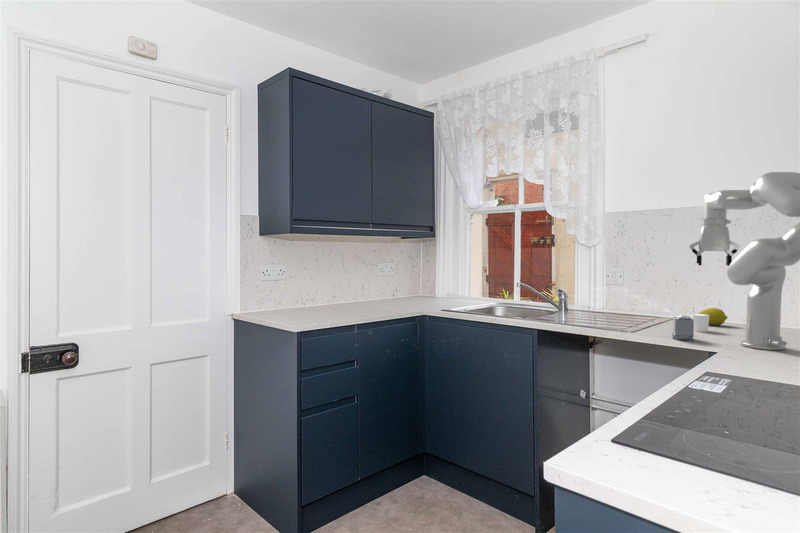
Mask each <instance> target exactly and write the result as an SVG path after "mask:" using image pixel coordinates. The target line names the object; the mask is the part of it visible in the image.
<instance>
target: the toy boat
mask: <svg viewBox="0 0 800 533" xmlns="http://www.w3.org/2000/svg"><path fill="white" fill-rule="evenodd" d="M672 328H673V330H674V326H673V327H672ZM671 338H672V339H673V340H675V341H676V340H677V341H681V342H683V341H685V342H690V341H689V340H693V341H694V338H695V336H694V334H693V336H687V335H675V334H674V332H672V336H671Z"/></svg>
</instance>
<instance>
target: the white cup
mask: <svg viewBox="0 0 800 533" xmlns="http://www.w3.org/2000/svg"><path fill="white" fill-rule="evenodd" d="M690 317H691V318H692V319H693V320H694V332H696V331H699V332H698V333H707V332H708V331H709V330H708V329H709V324H708V323H709V315H706V314H699V313H690Z"/></svg>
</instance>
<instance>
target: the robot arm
mask: <svg viewBox="0 0 800 533" xmlns="http://www.w3.org/2000/svg"><path fill="white" fill-rule="evenodd" d="M703 204H704V205H703V226H701V227H700V231H699V238H698V239H699V240H698V241H696V242H693V243H691V244H689V249H690V251H691V252H692V253H693V254H694V255H695V256H696V264H698V266H702V261H703V260H702V258H703V257H702V254H703V253H704V252H725V254H726V256H725V257H726V258H725V260H726V261H725V265H726V266H727V273H726V274H727V279H728V280H729V281H730V282H731V283H732V284H734V285H737V286H751V288H750V289H749V292H748V293H747V298H746V300H747V301H746V328H745V330H746V331H745V332H746V333H745V339H742V340H741V341H740V345H742V346H744V347H747V348H750V349H751V348H752V349H758V350H766V351H767V350H771V351H783V350H785V349H786V346H787V344H788V343H787V341H785V340H783V339H782V338H783V337H782V336H781V321H782V320H781V319H782V318H781V317H782V315H781V314H782V313H781V312H782V293H783V288H784V287H783V286H784V283H785V279H786V275H787V274H786V273H787V270H786V267H789V266H790V267H791V266H793V265H795V264H797V263H798V262H799V261H800V222H798V223H797V224H795V225H794V226H792V227H791V228H790V229H789V230H788V231H787V232H785V233H784V234H783V235H781V236H780V237H775V238H774V237H773V238H772V237H771V238H759V239H755V240H753V241H752V242H750V243H749V244H748V245H747V246H746V247H744V249H743V250H741V251H740V253H738V254H737V256H736V257H734V258H733V255H735V254H736V253H737V252H738V250H740V248H741V244H738V243H737V242H734V241H732V240H731V239H730V231H729V226H727V225H729V224H731V223H732V222H731V220H730V219H729V220H728V218H727V211H728V210H729V211H730V210H742V211H743V210H752V209H756V208H761V207H765V206H767V204H769V206H771V207H772V208H773V209H775V210H776V211H777V212H779V213H780V214H781V215H783V216H786V217H789V218H800V172H797V171H771V172H767V173H764V174H762V175H761V176H760V177H759V178H758V179H757V180H756V181H755V182H754V183H752V185H751V187H750V189H746V190H745V189H723V190H718V191H716V192H710V193H706V194H705V195H704V203H703ZM696 246H698V251H697V249H696V248H695V247H696ZM731 246H733V249H732V250H730V249H731ZM732 259H733V260H732Z"/></svg>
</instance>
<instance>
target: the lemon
mask: <svg viewBox="0 0 800 533" xmlns="http://www.w3.org/2000/svg"><path fill="white" fill-rule="evenodd" d="M698 314H706V315H709V323H708V326H714V327H715V326H716V327H717V326H721V325H723V324H724V323H725V322H726V320H727V319H728V316H727V315H726V313H725V311H723V310H722V309H720V308H716V307H711V308H705V309H704V310H701V311H699V312H698Z"/></svg>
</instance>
